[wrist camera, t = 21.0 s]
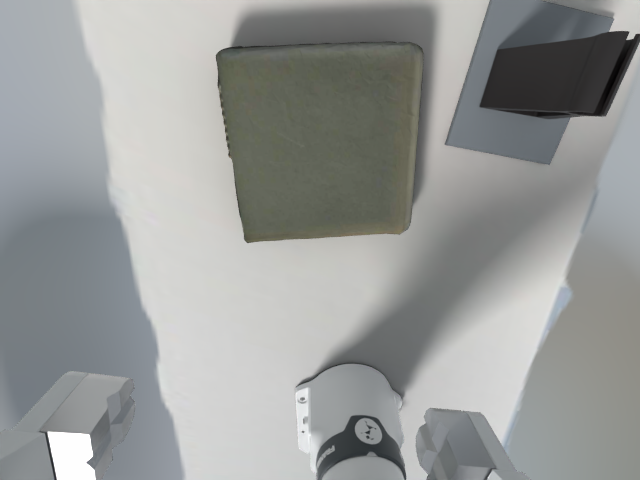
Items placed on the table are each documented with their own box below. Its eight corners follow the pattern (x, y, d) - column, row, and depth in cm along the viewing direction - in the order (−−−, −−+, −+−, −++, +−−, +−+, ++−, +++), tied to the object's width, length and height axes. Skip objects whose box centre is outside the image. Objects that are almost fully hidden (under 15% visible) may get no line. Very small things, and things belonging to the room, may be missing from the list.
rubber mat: (546, 164, 41) (549, 164, 40) (444, 144, 40) (446, 145, 39) (609, 20, 35) (614, 18, 35) (492, -9, 34) (495, -11, 33)
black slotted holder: (569, 64, 36) (685, 43, 25) (547, 119, 38) (645, 122, 27) (496, 49, 35) (582, 20, 24) (477, 106, 37) (549, 105, 26)
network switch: (202, 60, 35) (187, 52, 31) (409, 19, 35) (425, 5, 30) (254, 247, 44) (248, 263, 40) (420, 217, 44) (434, 230, 39)
